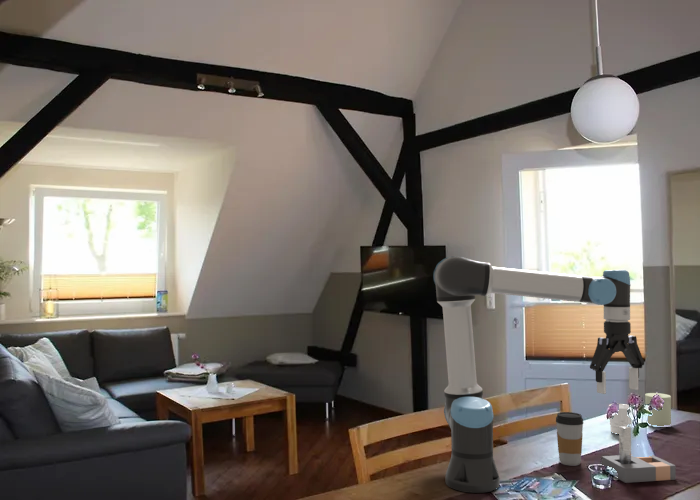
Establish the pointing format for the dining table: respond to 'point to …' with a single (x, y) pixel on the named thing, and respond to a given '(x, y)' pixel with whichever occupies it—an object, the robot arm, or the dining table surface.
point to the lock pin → (624, 445)
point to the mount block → (641, 469)
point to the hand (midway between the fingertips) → (617, 391)
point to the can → (660, 416)
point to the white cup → (620, 418)
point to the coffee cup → (569, 437)
